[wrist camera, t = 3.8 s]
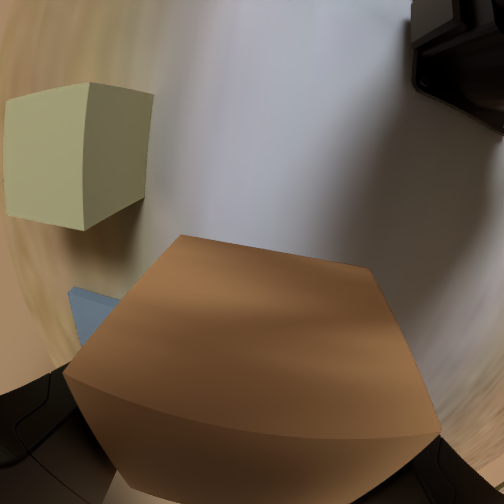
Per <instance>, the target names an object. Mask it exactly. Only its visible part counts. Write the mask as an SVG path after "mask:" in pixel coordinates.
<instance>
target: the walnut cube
mask: <svg viewBox="0 0 504 504" xmlns="http://www.w3.org/2000/svg"><path fill="white" fill-rule="evenodd" d="M63 375H64V378H65V380H66V382H67V384H68V386H69V388H70V391H71V393H72V395H73V397H74V399H75V401H76V403H77V405H78V407H79V409H80V410H81V412H82V414H83V416H84V418H85V420H86V421H87V423H88V425H89V427H90V428H91V430H92V432H93V434H94V435H95V437H96V439H97V440H98V442H99V443H100V445H101V447H102V448H103V450H104V451H105V453H106V454H107V456H108V457H109V459H110V460H111V462H112V463H113V465H114V466H115V467H116V469H117V470H118V472H119V473H120V474H121V476H122V477H123V478H124V480H125V481H126V482H127V484H128V485H129V486H130V487H131V488H133V489H136V490H139V491H141V492H144V493H147V494H150V495H153V496H156V497H159V498H163V499H166V500H169V501H173V502H176V503H181V504H350V503H351V502H353V501H355V500H356V499H358V498H359V497H361V496H363V495H364V494H366V493H367V492H369V491H370V490H372V489H373V488H375V487H376V486H377V485H379V484H380V483H382V482H383V481H385V480H386V479H387V478H389V477H390V476H391V475H393V474H394V473H395V472H397V471H398V470H399V469H400V468H402V467H403V466H404V465H405V464H407V463H408V462H409V461H410V460H411V459H413V458H414V457H415V456H416V455H417V454H418V453H420V452H421V451H422V450H423V449H424V448H425V447H426V446H427V445H428V444H430V443H431V442H432V441H433V440H434V439H435V438H436V437H437V436H438V435H439V434H440V433H441V432H442V429H441V426H440V423H439V420H438V417H437V415H436V412H435V409H434V407H433V404H432V401H431V399H430V396H429V394H428V391H427V389H426V386H425V384H424V381H423V379H422V376H421V374H420V372H419V369H418V367H417V365H416V362H415V360H414V358H413V356H412V353H411V351H410V349H409V347H408V345H407V342H406V340H405V338H404V336H403V334H402V332H401V330H400V328H399V326H398V324H397V322H396V320H395V317H394V315H393V313H392V312H391V310H390V308H389V306H388V304H387V302H386V300H385V298H384V296H383V294H382V292H381V290H380V288H379V287H378V285H377V283H376V281H375V279H374V277H373V275H372V274H371V272H370V270H369V268H365V267H360V266H354V265H349V264H343V263H338V262H332V261H327V260H321V259H316V258H310V257H305V256H299V255H294V254H288V253H282V252H277V251H271V250H266V249H260V248H254V247H249V246H243V245H238V244H232V243H226V242H221V241H215V240H209V239H204V238H198V237H192V236H187V235H180V236H179V237H178V238H177V239H176V240H175V241H174V242H173V243H172V244H171V246H170V247H169V248H168V249H167V250H166V251H165V252H164V253H163V254H162V255H161V256H160V257H159V258H158V259H157V261H156V262H155V263H154V264H153V265H152V266H151V267H150V268H149V269H148V270H147V271H146V273H145V274H144V275H143V276H142V277H141V278H140V279H139V280H138V281H137V283H136V284H135V285H134V286H133V287H132V288H131V289H130V291H129V292H128V293H127V294H126V295H125V296H124V297H123V299H122V300H121V301H120V302H119V303H118V304H117V306H116V307H115V308H114V309H113V310H112V311H111V313H110V314H109V315H108V316H107V317H106V319H105V320H104V321H103V322H102V323H101V325H100V326H99V327H98V328H97V329H96V331H95V332H94V333H93V334H92V336H91V337H90V338H89V339H88V340H87V342H86V343H85V344H84V345H83V347H82V348H81V349H80V351H79V352H78V353H77V354H76V356H75V357H74V358H73V359H72V361H71V362H70V363H69V365H68V366H67V367H66V369H65V370H64V371H63Z"/></svg>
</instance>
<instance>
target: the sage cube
mask: <svg viewBox="0 0 504 504" xmlns="http://www.w3.org/2000/svg"><path fill="white" fill-rule="evenodd" d="M153 98H154V95H153V94H149V93H145V92H140V91H136V90H131V89H126V88H121V87H116V86H110V85H105V84H98V83H92V82H87V83H81V84H75V85H69V86H63V87H58V88H53V89H49V90H44V91H40V92H36V93H32V94H28V95H24V96H21V97H17V98H14V99H10V100H7V101H6V110H5V122H4V144H3V167H4V189H5V201H6V211H7V215H9V216H13V217H18V218H23V219H28V220H32V221H37V222H42V223H47V224H52V225H57V226H62V227H67V228H72V229H76V230H81V231H85V230H87V229H89V228H90V227H92V226H94V225H95V224H97V223H99V222H100V221H102V220H104V219H106V218H107V217H109V216H111V215H113V214H114V213H116V212H118V211H120V210H122V209H123V208H125V207H127V206H129V205H131V204H133V203H135V202H136V201H138V200H140V199H142V198H144V197H145V181H146V165H147V152H148V140H149V130H150V121H151V113H152V105H153Z"/></svg>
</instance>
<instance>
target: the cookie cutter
mask: <svg viewBox="0 0 504 504" xmlns="http://www.w3.org/2000/svg"><path fill="white" fill-rule="evenodd" d="M503 487H504V482H502V483H501V484H499V485H498V486H496V487H495V489H496V490H500V489H501V488H503Z"/></svg>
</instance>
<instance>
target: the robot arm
mask: <svg viewBox="0 0 504 504" xmlns="http://www.w3.org/2000/svg"><path fill="white" fill-rule="evenodd" d="M410 44H411V45H412V47H413V49H414V59H413V71H412V85H413V87H414V88H415V89H416V91H418V92H419V93H421V94H424V95H426V96H428V97H431V98H433V99H435V100H437V101H440V102H442V103H444V104H446V105H448V106H450V107H452V108H454V109H456V110H458V111H460V112H462V113H464V114H466V115H468V116H470V117H471V118H473V119H475V120H477V121H479V122H480V123H482V124H484V125H485V126H487V127H489V128H490V129H492V130H494V131H495V132H497V133H499V134H500V135H503V136H504V128H503V124H504V0H415V1H414V2H413V3H412V4H411V35H410ZM421 78H422V79H423V80H424V81H425V83H426V86H425V87H423V86H422V85H421V83H420V79H421ZM70 362H71V361H70ZM70 362H69V363H70ZM69 363H67V364H65V365H63V366H61V367H59V368H57V369H55V370H54V371H52V372H51V374H50V373H48V374H46V375H44V376H42V377H40V378H38V379H37V380H34V381H32V382H30V383H28V384H26V385H24V386H22V387H20V388H18V389H15V390H13V391H10V392H8V393H5V394H3V395H0V504H102V503H103V500H104V498H105V496H106V494H107V491H108V489H109V486H110V484H111V482H112V480H113V477H114V475H115V473H116V471H117V469H116V467H115V466H114V465H113V463H112V462H111V460H110V459H109V457H108V456H107V454H106V453H105V451H104V450H103V448H102V447H101V445H100V443H99V442H98V440H97V439H96V437H95V435H94V434H93V432H92V430H91V428H90V427H89V425H88V423H87V421H86V420H85V418H84V416H83V414H82V412H81V410H80V409H79V407H78V405H77V403H76V401H75V399H74V397H73V395H72V393H71V391H70V388H69V386H68V384H67V382H66V380H65V378H64V375H63V371H64V370H65V369H66V367H67V366H68V365H69ZM350 504H504V494H502V493H501V492H499V491H498V490H496V489H495V488H494V487H493V486H492V485H491V484H489V483H488V482H487V481H486V480H485V479H484V478H483V477H482V476H480V475H479V474H478V473H477V472H476V471H475V470H474V469H473V468H472V467H471V466H470V465H469V464H467V463H466V462H465V461H464V460H463V459H462V458H461V457H460V456H459V455H458V454H457V453H456V452H455V450H454V449H453V448H452V447H451V446H450V445H449V444H448V443H447V442H446V441H445V440H444V439H443V438H442V437H441V435H440V434H439V435H438V436H437V437H436V438H435V439H434V440H433V441H432V442H431V443H430V444H428V445H427V446H426V447H425V448H424V449H423V450H422V451H421V452H420V453H418V454H417V455H416V456H415V457H414V458H413V459H411V460H410V461H409V462H408V463H407V464H405V465H404V466H403V467H402V468H400V469H399V470H398V471H397V472H395V473H394V474H393V475H391V476H390V477H389V478H387V479H386V480H385V481H383V482H382V483H380V484H379V485H377V486H376V487H375V488H373V489H372V490H370V491H369V492H367V493H366V494H364V495H363V496H361V497H359V498H358V499H356V500H355V501H353V502H351V503H350Z"/></svg>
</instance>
